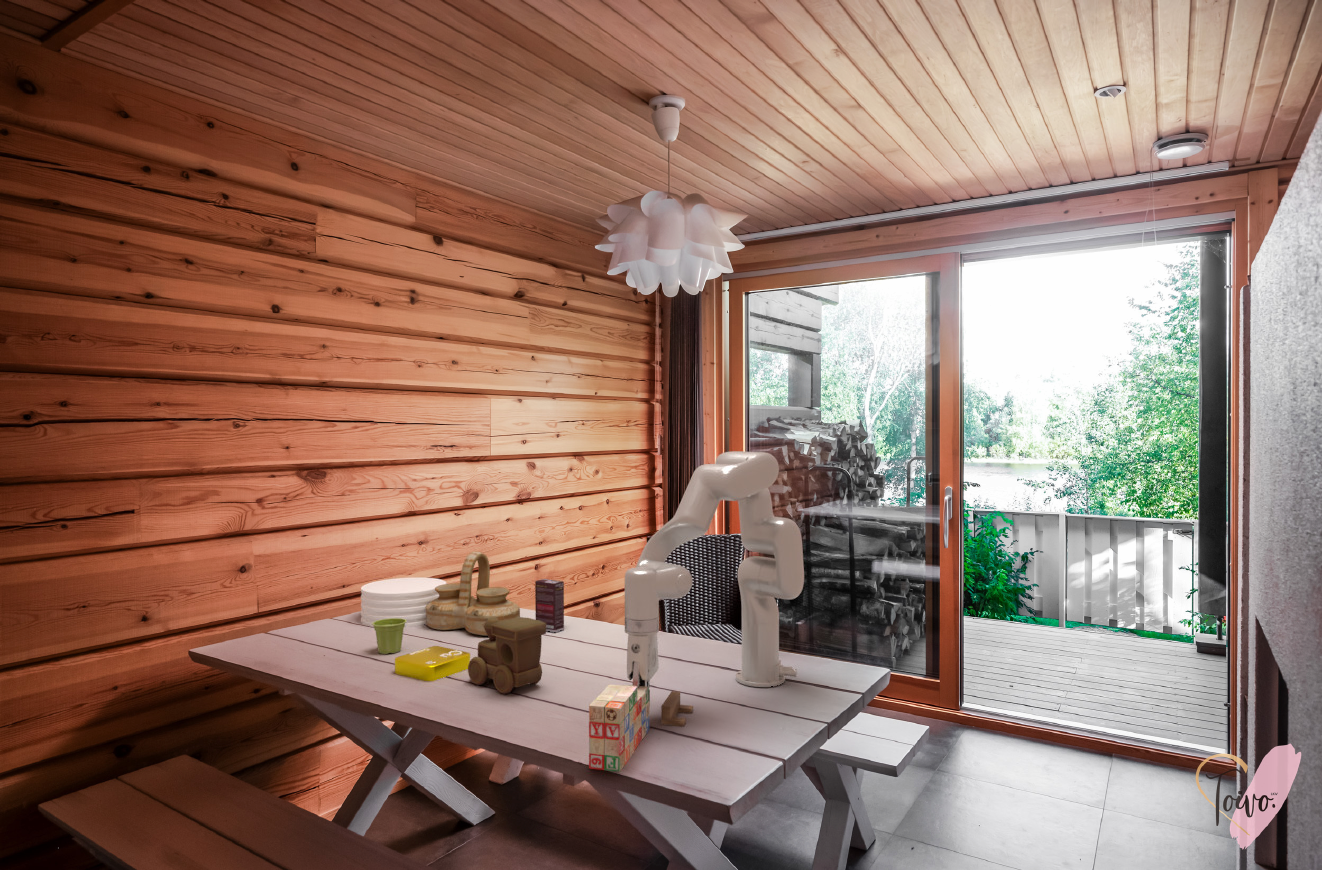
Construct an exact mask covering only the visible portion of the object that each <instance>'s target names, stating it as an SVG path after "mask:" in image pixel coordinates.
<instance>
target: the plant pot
mask: <svg viewBox="0 0 1322 870" xmlns="http://www.w3.org/2000/svg"><path fill="white" fill-rule="evenodd" d="M405 623H406V620H405V619H401V618H389V619H382V620H378V621H375V622H373V623H372V625H373V626H374V627H373V628H374V631H375V636H376V643H377V644H376V645H377V651H378V653H379V654H383V655H388V654H390V653H391V654H396V653H398V652H401V651H402V644H403V635H404V628H406V627H405Z"/></svg>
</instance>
